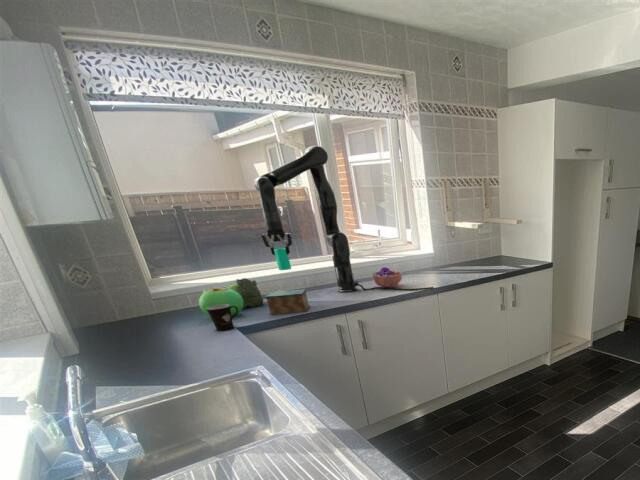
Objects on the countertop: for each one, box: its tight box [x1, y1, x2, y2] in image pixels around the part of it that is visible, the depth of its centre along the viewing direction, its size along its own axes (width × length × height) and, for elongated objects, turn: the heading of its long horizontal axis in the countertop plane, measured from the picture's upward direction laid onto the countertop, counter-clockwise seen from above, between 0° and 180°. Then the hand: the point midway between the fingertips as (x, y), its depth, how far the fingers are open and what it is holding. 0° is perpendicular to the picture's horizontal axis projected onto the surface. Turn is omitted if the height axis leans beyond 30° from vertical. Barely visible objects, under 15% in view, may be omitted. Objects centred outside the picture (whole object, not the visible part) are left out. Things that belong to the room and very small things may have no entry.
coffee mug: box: [206, 304, 238, 332], centre depth 187 cm, size 12×9×10 cm
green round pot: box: [198, 283, 244, 317], centre depth 203 cm, size 18×17×15 cm
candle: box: [274, 245, 292, 271], centre depth 222 cm, size 6×6×12 cm
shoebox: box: [265, 288, 310, 315], centre depth 212 cm, size 17×11×9 cm, turn 104°
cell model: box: [371, 267, 403, 288], centre depth 254 cm, size 17×20×11 cm
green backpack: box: [234, 277, 264, 310], centre depth 218 cm, size 11×19×15 cm, turn 115°
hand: (281, 254), depth 221 cm, fingers closed on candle, 6 cm apart
